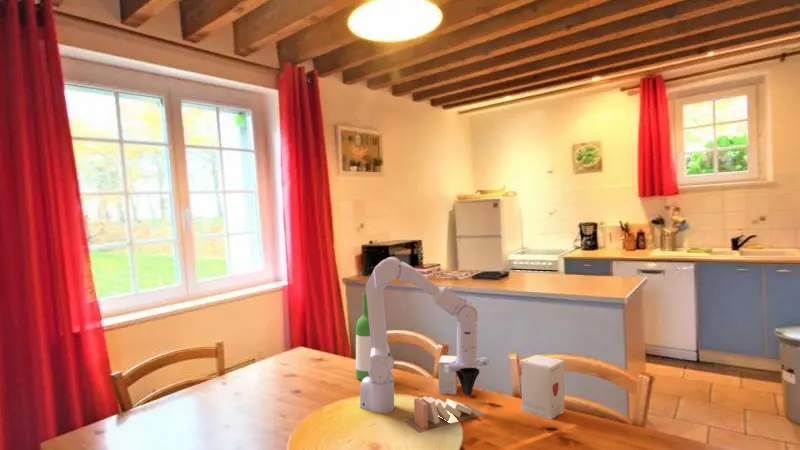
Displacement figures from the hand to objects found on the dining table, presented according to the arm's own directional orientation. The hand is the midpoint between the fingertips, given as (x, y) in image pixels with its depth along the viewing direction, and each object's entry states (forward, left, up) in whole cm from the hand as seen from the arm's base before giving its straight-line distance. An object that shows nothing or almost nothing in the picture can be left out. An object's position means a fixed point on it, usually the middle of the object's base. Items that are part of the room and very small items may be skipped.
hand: (467, 394), depth 124 cm
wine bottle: (-41, +11, -6) cm, 43 cm away
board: (-4, -7, -6) cm, 10 cm away
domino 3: (-4, -7, -4) cm, 9 cm away
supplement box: (+19, +11, -6) cm, 23 cm away
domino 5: (0, 0, -4) cm, 4 cm away
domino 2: (-6, -10, -5) cm, 13 cm away
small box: (-11, +13, -6) cm, 18 cm away
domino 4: (-2, -4, -4) cm, 6 cm away
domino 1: (-8, -14, -5) cm, 17 cm away
